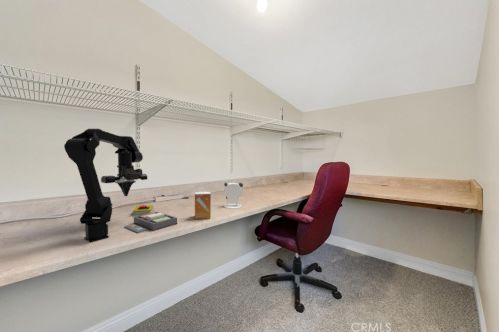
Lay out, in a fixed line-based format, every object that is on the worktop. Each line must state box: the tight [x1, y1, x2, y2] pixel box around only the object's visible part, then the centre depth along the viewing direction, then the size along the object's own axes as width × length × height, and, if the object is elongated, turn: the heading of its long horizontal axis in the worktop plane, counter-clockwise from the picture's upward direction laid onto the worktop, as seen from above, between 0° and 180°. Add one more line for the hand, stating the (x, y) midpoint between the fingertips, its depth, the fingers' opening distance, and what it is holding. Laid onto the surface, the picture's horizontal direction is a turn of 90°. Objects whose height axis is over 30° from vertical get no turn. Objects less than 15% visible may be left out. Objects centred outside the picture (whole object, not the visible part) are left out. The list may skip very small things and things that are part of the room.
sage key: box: [153, 217, 171, 223], centre depth 103 cm, size 7×4×2 cm, turn 144°
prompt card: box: [124, 223, 148, 234], centre depth 98 cm, size 4×12×1 cm, turn 53°
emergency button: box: [132, 204, 155, 218], centre depth 125 cm, size 9×4×15 cm
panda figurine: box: [223, 182, 244, 209], centre depth 141 cm, size 12×11×15 cm
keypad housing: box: [133, 211, 178, 232], centre depth 106 cm, size 12×17×3 cm
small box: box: [194, 191, 212, 220], centre depth 117 cm, size 8×6×13 cm
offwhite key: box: [146, 212, 165, 221], centre depth 106 cm, size 7×4×2 cm, turn 144°
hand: (125, 196), depth 106 cm, fingers closed
